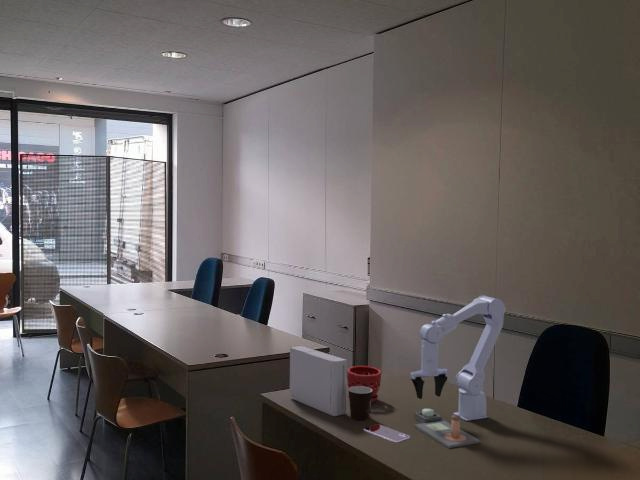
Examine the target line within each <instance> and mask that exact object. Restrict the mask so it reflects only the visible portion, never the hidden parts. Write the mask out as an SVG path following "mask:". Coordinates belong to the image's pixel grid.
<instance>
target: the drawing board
mask: <svg viewBox="0 0 640 480" xmlns="http://www.w3.org/2000/svg"><path fill="white" fill-rule="evenodd" d="M414 427H415V428H416V429H417V430H419V431H420V432H422V433H424V434H426V435H427V436H429V437H430V438H431V439H433V440H435V441H436V442H438V443H440V444H442V445H443V446H444V447H446V448H447V449H453V448H458V447H464V446H465V447H466V446H470V445H475V444H480V443H481V440H480V439H479V438H477V437H474V435H471V434H470V433H468V432H465V431H464V430H462V429H460V436H459V439H454V438H452V437H451V427H452V423H449V422H448V421H446V420H443V419H442V421H435V422H428V423H421V422H420V423H418V424H417V423H416V424H414Z"/></svg>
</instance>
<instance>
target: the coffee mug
mask: <svg viewBox="0 0 640 480" xmlns="http://www.w3.org/2000/svg"><path fill="white" fill-rule="evenodd" d="M347 390H348V391H347V392H348V393H349V397H348V402H349V410H350V411H349V412H350V418H351V419H352V420H354V421H366V420H367V421H368V420H369V418H370V411H371V404H372V403H371V398H372V391H373V390H372V389H371V388H369V387H364V386H354V387H350V388H348V389H347Z"/></svg>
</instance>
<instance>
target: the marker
mask: <svg viewBox="0 0 640 480" xmlns="http://www.w3.org/2000/svg"><path fill="white" fill-rule="evenodd" d="M451 424H452V427H451V437H452V438H454V439H459V436H460V430H461V427H460V426H461V418H460V416H459V415H454V414H452V415H451Z"/></svg>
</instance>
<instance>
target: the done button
mask: <svg viewBox="0 0 640 480" xmlns="http://www.w3.org/2000/svg"><path fill="white" fill-rule="evenodd" d="M434 411H435V410H434V409H432V408H423V409H421V412H422V416H424V417H425V418H427V417H434Z"/></svg>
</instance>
